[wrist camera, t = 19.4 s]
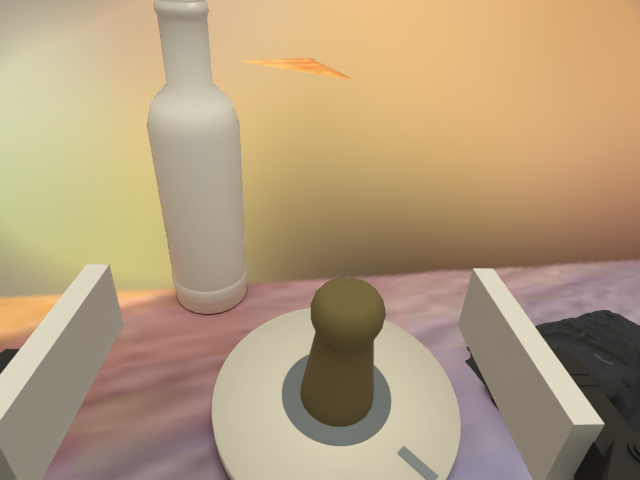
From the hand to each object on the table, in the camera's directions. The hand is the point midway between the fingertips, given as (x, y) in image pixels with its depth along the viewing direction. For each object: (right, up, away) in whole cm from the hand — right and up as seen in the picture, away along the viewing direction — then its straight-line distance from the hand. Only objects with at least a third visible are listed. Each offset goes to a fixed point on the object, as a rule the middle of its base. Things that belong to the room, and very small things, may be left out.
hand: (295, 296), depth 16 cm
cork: (+2, -11, +19) cm, 22 cm away
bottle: (-11, -4, +33) cm, 35 cm away
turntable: (+2, -12, +20) cm, 23 cm away
